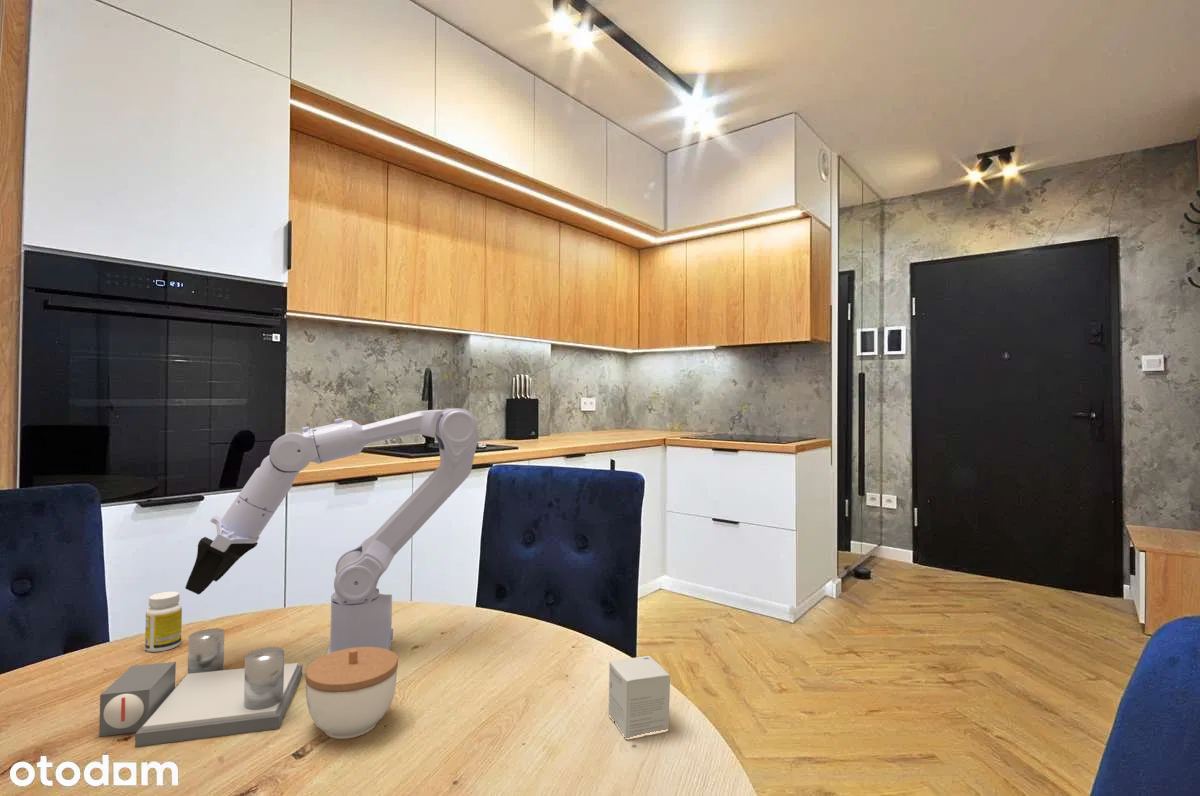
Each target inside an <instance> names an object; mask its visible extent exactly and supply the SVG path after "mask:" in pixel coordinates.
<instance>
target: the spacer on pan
mask: <svg viewBox="0 0 1200 796" xmlns="http://www.w3.org/2000/svg"><path fill="white" fill-rule="evenodd" d="M284 664H285V649H284V648H282V647H278V646H270V647H262V648H257V649H255V650H252V651H250V652H248V653H247V654H246V655H245V656H244V668H245V674H244V707H245V708H246V709H249V710H260V709H265V708H269V707H272V706H274V705H276V704H278V703H279V702H281V701H282V699H283V685H284Z"/></svg>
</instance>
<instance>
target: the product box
mask: <svg viewBox="0 0 1200 796" xmlns="http://www.w3.org/2000/svg"><path fill="white" fill-rule="evenodd" d="M608 666H609V667H608V668H609V671H608V672H609V674H608V675H609V676H608V677H609V680H608V685H609V687H608V716H609V715H610V716H611V718H612V719H613V720H614V721H615V723H616V724H617V725H618V727H619V728H620V730H621V731H622V733H623V734H624V736H625V738H630V737H633V736H637V735H641V734H645V733H650V732H654V731H655V732H656V731H661V730H666V729H669V730H670V698H671V697H670V694H671V693H670V692H671V674H669V673H668V672H667V671H666V670H665V669H664V668H663V667H662V665H661V664H659V662H657V661H656V660H655V659H654V658H653V657H652V656H650V655H644V656H638V657H637V656H636V657H632V658H631V657H630V658H623V659H617V660H612V661H609V665H608Z"/></svg>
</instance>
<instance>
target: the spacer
mask: <svg viewBox="0 0 1200 796" xmlns="http://www.w3.org/2000/svg"><path fill="white" fill-rule="evenodd" d="M187 647H188V648H187V674H191V673H201V672H211V671H221V670H225V669H224V667H225V659H224V658H225V630H224V629H223V628H207V629H201V630H197V631H195V632H193V633H191V634H190V635H188V646H187Z"/></svg>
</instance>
